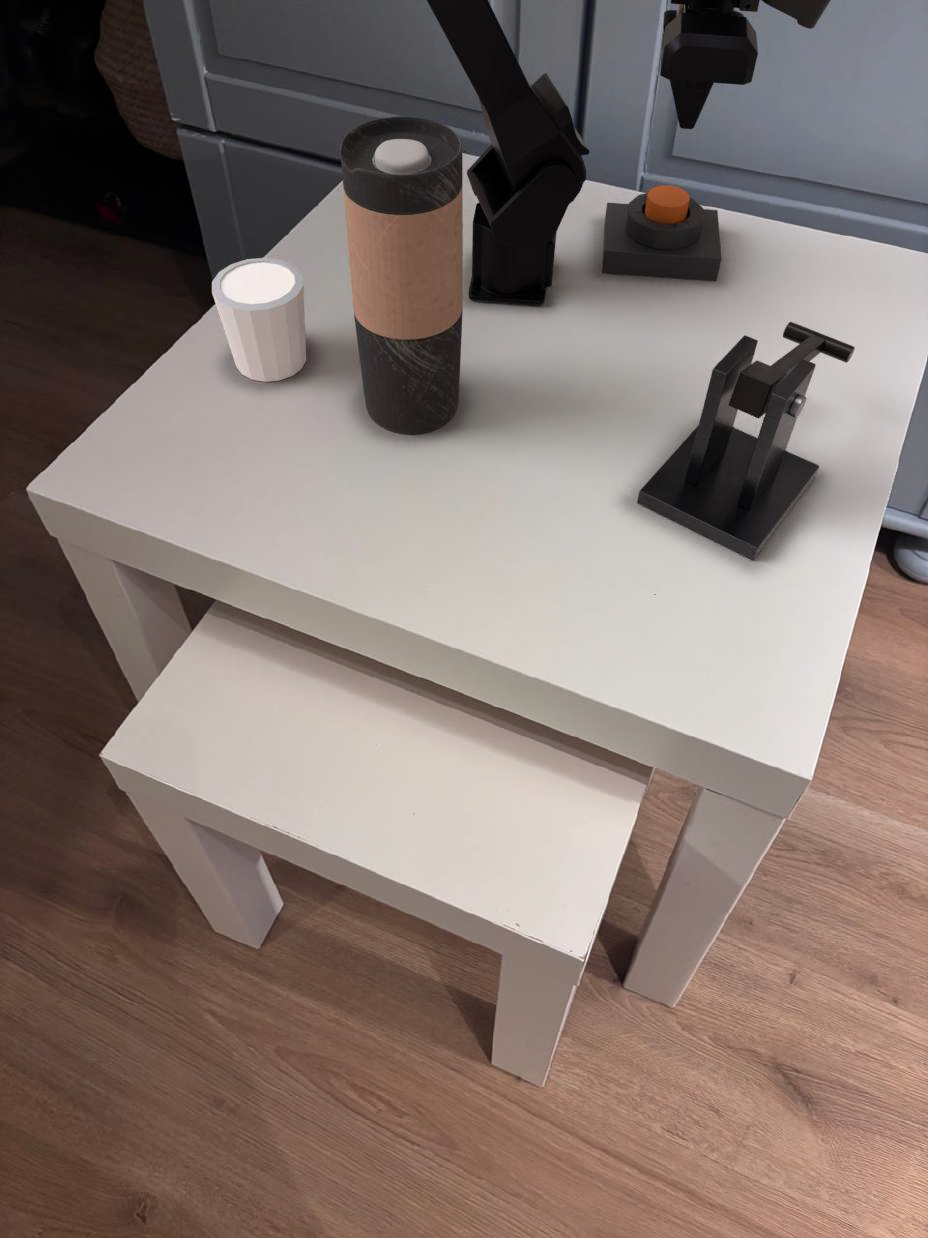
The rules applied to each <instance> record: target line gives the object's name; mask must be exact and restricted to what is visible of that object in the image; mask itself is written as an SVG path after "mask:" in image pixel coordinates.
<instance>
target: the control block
mask: <svg viewBox="0 0 928 1238" xmlns="http://www.w3.org/2000/svg"><path fill="white" fill-rule="evenodd" d="M647 196H648V192H645V193H641V194H638V195H636V196H635V197H634V198H633V199H631V201H629V202H628V203H621V202H620V203H619V202H607V203H606V206H605V208H606V210H605V215H604V216H605V217H604V223H603V240H602V241H603V243H602V265H601V273H602V274H609V275H625V276H636V277H650V278H651V277H652V278H663V279H664V278H666V279H678V280H679V279H680V280H692V281H693V280H694V281H705V282H706V281H708V282H717V280H718V276H719V271H720V268H721V263H722V259H723V258H722V248H721V237H720V224H719V212H718V209H708V208H704V207H703V206H702V205H701V204H699V203H698V201H696V200H695V199H694V198H693V197H690V200H689V205H688V210H687V215H686V219H685V220H684V221H683V222H679V223H675V224H667V223H658V222H656V221H653V220H650V219H648V218H647V217H646V216H645V208H646V202H647Z"/></svg>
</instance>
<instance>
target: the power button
mask: <svg viewBox="0 0 928 1238" xmlns="http://www.w3.org/2000/svg"><path fill="white" fill-rule="evenodd" d="M647 193H648V196H647V202H646V208H645V216H646V217H647V218H648V219H650V220H653V221H656V222H658V223H667V224H675V223H679V222H683V221H684V220H685V219H686V215H687V210H688V205H689V200H690V198H691V197H690V194H689V193H688V192H687V190H685V189H683V188H680V187H678V186H674V185H657V186H654V187H653V188H651V189H650V190H649V191H648V192H647Z"/></svg>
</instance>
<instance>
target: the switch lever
mask: <svg viewBox="0 0 928 1238" xmlns="http://www.w3.org/2000/svg"><path fill="white" fill-rule="evenodd" d="M782 338H783V339H785V340H788V341H791V342H794V343H795V344H797V345H796V346H795V347H794V348H792V349H791V350H789V352H787V353H786V354H784V355H782V356H781V357H780V358H779V359H778V360H776V361H775V362H773V363H772V364H771V365H769V364H767V363H765V362H762V361H760V360H755V361H753V362H752V363H751V365H750V366H748V367H747V368H745V369H744V370H743V371H741V372H740V375H739V378H738V380H737V383H736V386H735V388H734V391H733V394H732V396H731V399H730V402H729V406H731V407H733V408H735V409H738V411H740V412H743V413H744V414H747V415H749V416H752V417H754V418H756V419H760V418H761V417H763V416H765V413H766V410H767V407H768V404H769V401H770V398H771V395H772V393H773V392H774V391H775V390H776V388H777V387H778V386H779V385H780V384H781V383H782V381H783V380H784V379H785V378H786V377H787V376H788V374H789V373H790V372H791V371H792V370H793V368H794V367H795V366H796V365H797V364H798V363H799V361H800V360H801V359H805V360H807V361H809V362H812V360H814V359H815V358H816V357H817V356H818V355H820V354H823V355H826V356H828V357H830V358H833V359H836V360H839V361H840V362H843V363H846V364H847V363H848V362H849V361H850V360H851V358H852V357H853V354H854V352H855V349H856V347H855V346H854V345H852V344H849V343H846V342H843V341H842V340H838V339H836V338H833V337H831V336H829V335H826V334H823V333H821V332H818V331H816V330H814V329H811V328H808V327H806V326H804V325H801V324H798V323H796V322H793V321H789V322H788V323H787V325H786V326H785V328H784V330H783V333H782Z"/></svg>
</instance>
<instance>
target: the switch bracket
mask: <svg viewBox="0 0 928 1238" xmlns="http://www.w3.org/2000/svg"><path fill="white" fill-rule="evenodd" d="M758 342H759V341H758V339H756V338H753V337H751V336H748V335H745V334H744V335H743V336H742V337H741V338H740V339H739V340H738V341H737V342H736V343H735V344H734V345H733V346H732V348H731V349H730V350H729V351H728V352H727V353H726V355H724V356H723V357H722V359H721V360H720V361H718V362H717V363H716V365H715V366H714V367H713V368H712V371H711V375H710V378H709V382H708V386H707V390H706V395H705V399H704V402H703V407H702V409H701V410H702V411H701V414H700V417H699V418H700V419H699V422H698V425H697V426H696V427H695V428H694V430H692V432H691V433H690V434H689V435H688V436H687V437H686V439H684V440H683V442H682V443H680V445H679V446H678V448H677V449H675V451H674V452H672V454H671V455H670V457H668V459H667V460H666V461H665V462H664V463H663V464H662V465H661V466H660V468H658V470H657V471H656V472H654V474H653V475H652V476H651V477H650V478H649V480H648V481H647V482H646V483H644V486H643V487H642V488H641V489H640V490H638V491H639V492H638V496H637V500H636V503H637V504H639V505H640V506H642V507H644V508H646V509H648V510H651V511H652V512H654V513H656V514H659V515H660V516H663V517H664V518H667V519H669V520H670V521H672V522H674V523H677V524H678V525H680V526H683V527H685V528H687V529H689V530H690V531H693V532H695V533H696V534H699V535H701V536H703V537H704V538H707V539H709V540H711V541H713V542H715V543H717V544H718V545H721V546H723V547H725V548H727V549H728V550H731V551H733V552H735V553H737V554H739V555H741V556H742V557H745V558H747V559H748V560H751V561H754V560H755V558H756V557H757V556H758V555H759V553H760V552H761V550H762V549H763V548H764V546H765V545H766V544H767V542H768V541H769V540H770V538H771V537H772V536H773V534H774V533H775V532H776V530H777V529H778V528H779V527H780V525H781V524H782V522H783V521H784V520H785V518H786V517H787V516H788V514H789V513H790V511H792V509H793V508H794V506H795V505H796V504H797V502H798V501H799V500H800V499H801V497H802V496H803V494H804V493H805V492H806V490H807V489H808V487H809V486H810V485H811V484H812V482H813V481H814V479H815V478H816V476H817V474H818V471H819V468H820V465H818V464H817V463H815V462H812V461H810V460H808V459H805V458H803V457H801V456H798V455H797V454H794V453H792V452H790V451H788V450H787V448H788V444H789V442H790V439H791V437H792V433H793V431H794V428H795V425H796V422H797V420H798V418H799V416H800V415H801V413H802V411H803V409H804V407H805V404H806V403H807V396H806V394H807V391H808V389H809V385H810V383H811V381H812V378H813V375H814V372H815V369H816V366H817V363H815V362H812V361H807V360H805V359H801V360H800V361H799V363H798V364H797V365H796V366H795V367H794V368H793V370H792V371H791V372H790V373H789V374H788V376H787V377H786V378H785V379H784V380H783V381H782V383H781V384H780V385H779V386H778V387H777V388H776V390H775V391H774V392H773V393H772V395H771V398H770V401H769V404H768V407H767V410H766V413H765V414H764V415H763V416H764V417H763V420H762V422H761V426H760V429H759V433H758V435H757V437H756V436H754V435H752V434H749V433H747V432H745V431H742V430H740V429H738V428H735V427H734V425H735V421H736V418H737V415H738V411H739V410H738V409H735V408H733V407H731V406H729V402H730V399H731V396H732V394H733V391H734V388H735V386H736V383H737V380H738V378H739V375H740V372H741V371H743V370H744V369H745V368H747V367H748V366H750V365H751V364H752V363H753V360H754V356H755V353H756V349H757V345H758Z"/></svg>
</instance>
